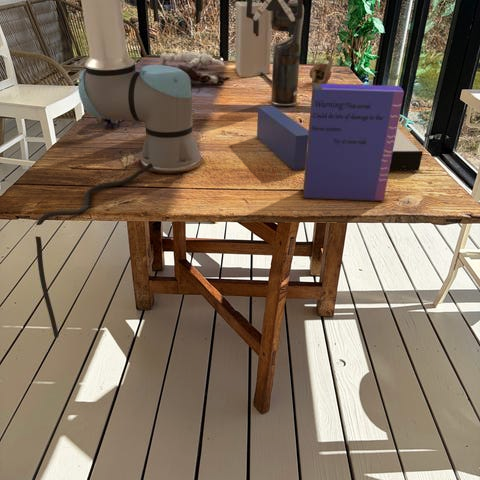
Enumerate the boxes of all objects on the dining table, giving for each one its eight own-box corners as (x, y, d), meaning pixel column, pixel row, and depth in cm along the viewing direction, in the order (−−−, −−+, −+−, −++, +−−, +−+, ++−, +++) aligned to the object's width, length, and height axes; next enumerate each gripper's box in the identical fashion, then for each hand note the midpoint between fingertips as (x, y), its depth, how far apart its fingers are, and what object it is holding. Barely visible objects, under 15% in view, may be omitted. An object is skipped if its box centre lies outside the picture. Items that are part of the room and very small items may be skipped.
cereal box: (379, 191, 109) (398, 84, 97) (383, 201, 105) (404, 90, 93) (303, 188, 110) (312, 82, 98) (304, 197, 106) (314, 88, 94)
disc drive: (349, 170, 120) (352, 151, 117) (332, 140, 139) (334, 123, 137) (418, 171, 120) (423, 152, 118) (392, 140, 140) (395, 124, 137)
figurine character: (119, 135, 145) (134, 115, 156) (115, 111, 140) (131, 93, 152) (98, 134, 145) (114, 114, 157) (93, 110, 141) (110, 92, 152)
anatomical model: (319, 90, 206) (319, 91, 192) (304, 75, 205) (303, 75, 191) (340, 67, 202) (342, 66, 188) (325, 52, 201) (326, 50, 187)
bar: (310, 168, 122) (313, 134, 117) (293, 170, 120) (296, 136, 116) (271, 135, 143) (272, 105, 138) (256, 136, 142) (257, 106, 137)
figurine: (152, 84, 183) (230, 91, 186) (153, 62, 180) (232, 69, 183) (157, 81, 205) (226, 87, 208) (157, 61, 202) (228, 68, 206)
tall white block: (273, 76, 210) (276, 6, 196) (239, 77, 209) (240, 6, 194) (266, 67, 226) (268, 2, 212) (235, 67, 225) (235, 1, 210)
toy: (179, 75, 210) (178, 59, 206) (155, 65, 227) (154, 49, 224) (226, 69, 222) (226, 53, 218) (199, 60, 239) (199, 45, 235)
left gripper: (217, -56, 142) (218, 22, 152) (137, -58, 145) (143, 19, 156) (212, -57, 135) (213, 24, 146) (128, -58, 139) (135, 21, 149)
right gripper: (305, -36, 119) (300, 34, 127) (248, -37, 120) (247, 33, 128) (306, -34, 112) (300, 39, 121) (246, -35, 113) (245, 38, 122)
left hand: (177, 22), depth 151 cm, fingers open, 13 cm apart
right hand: (273, 36), depth 125 cm, fingers open, 8 cm apart
